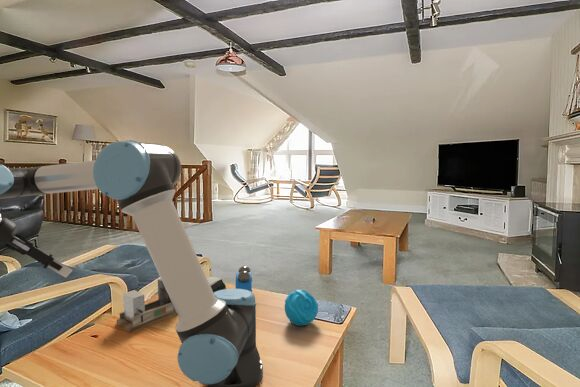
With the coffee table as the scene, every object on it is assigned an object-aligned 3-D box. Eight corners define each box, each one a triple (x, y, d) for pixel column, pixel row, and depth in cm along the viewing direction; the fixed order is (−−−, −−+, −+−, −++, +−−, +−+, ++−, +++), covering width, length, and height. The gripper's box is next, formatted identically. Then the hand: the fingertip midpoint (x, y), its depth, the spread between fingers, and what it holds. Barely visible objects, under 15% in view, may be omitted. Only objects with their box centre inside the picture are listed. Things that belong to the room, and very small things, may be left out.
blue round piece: (296, 335, 108) (296, 301, 107) (277, 321, 118) (277, 290, 116) (323, 324, 115) (324, 292, 114) (303, 312, 125) (303, 282, 123)
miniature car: (184, 306, 130) (184, 287, 129) (211, 290, 147) (210, 272, 146) (203, 310, 127) (203, 290, 126) (228, 293, 144) (228, 275, 143)
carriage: (148, 321, 114) (146, 296, 114) (136, 325, 111) (135, 299, 110) (135, 313, 120) (134, 290, 119) (124, 318, 117) (122, 293, 116)
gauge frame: (182, 311, 126) (181, 282, 125) (130, 332, 110) (129, 299, 109) (168, 304, 132) (166, 276, 131) (116, 323, 116) (115, 292, 115)
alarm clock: (237, 299, 137) (236, 263, 135) (252, 298, 138) (251, 263, 136) (235, 313, 124) (235, 274, 122) (252, 312, 125) (251, 274, 123)
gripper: (-29, 235, 86) (51, 279, 101) (-18, 243, 79) (67, 289, 93) (-4, 213, 90) (69, 258, 105) (9, 218, 82) (86, 266, 97)
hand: (68, 273), depth 99 cm, fingers closed
